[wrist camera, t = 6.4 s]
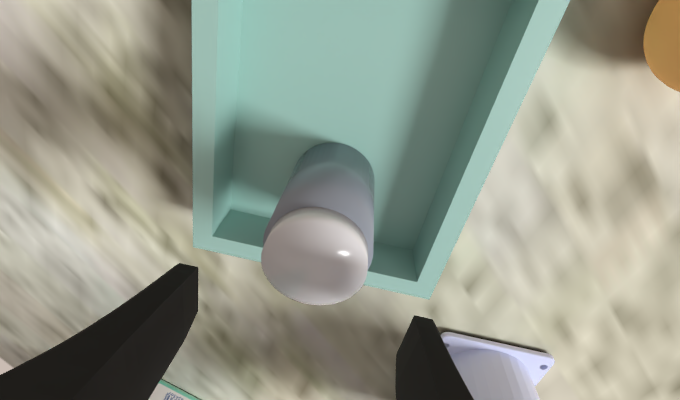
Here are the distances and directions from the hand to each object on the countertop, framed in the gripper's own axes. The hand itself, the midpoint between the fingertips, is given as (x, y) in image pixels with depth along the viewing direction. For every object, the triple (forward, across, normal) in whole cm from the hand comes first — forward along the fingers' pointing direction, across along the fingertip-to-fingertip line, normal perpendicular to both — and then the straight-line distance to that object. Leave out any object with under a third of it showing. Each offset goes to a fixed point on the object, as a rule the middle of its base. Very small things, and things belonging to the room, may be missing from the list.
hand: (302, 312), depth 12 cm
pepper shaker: (+9, 0, 0) cm, 9 cm away
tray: (+9, 0, -4) cm, 10 cm away
